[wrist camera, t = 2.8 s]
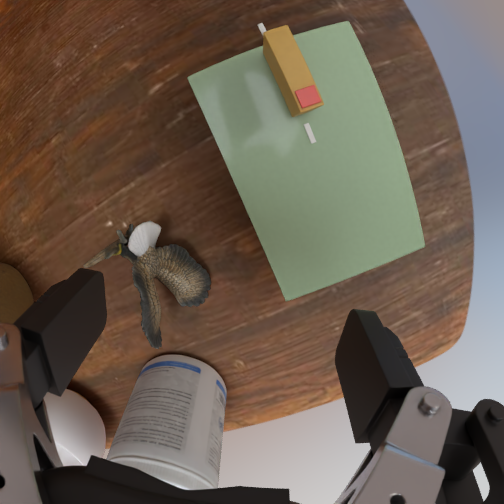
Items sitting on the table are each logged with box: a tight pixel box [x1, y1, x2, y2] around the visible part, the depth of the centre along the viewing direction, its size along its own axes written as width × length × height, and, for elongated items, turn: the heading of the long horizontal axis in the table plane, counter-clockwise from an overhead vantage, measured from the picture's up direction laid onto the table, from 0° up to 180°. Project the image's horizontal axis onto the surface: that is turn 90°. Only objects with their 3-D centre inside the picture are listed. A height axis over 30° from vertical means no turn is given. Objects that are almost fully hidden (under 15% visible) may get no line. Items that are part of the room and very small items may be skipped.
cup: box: [44, 389, 106, 466], centre depth 30 cm, size 12×12×10 cm
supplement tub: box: [106, 355, 227, 490], centre depth 25 cm, size 10×10×15 cm
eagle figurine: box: [84, 221, 211, 349], centre depth 24 cm, size 8×7×9 cm
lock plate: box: [187, 21, 425, 301], centre depth 22 cm, size 20×12×3 cm, turn 23°
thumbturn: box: [263, 25, 324, 117], centre depth 17 cm, size 5×1×5 cm, turn 23°
